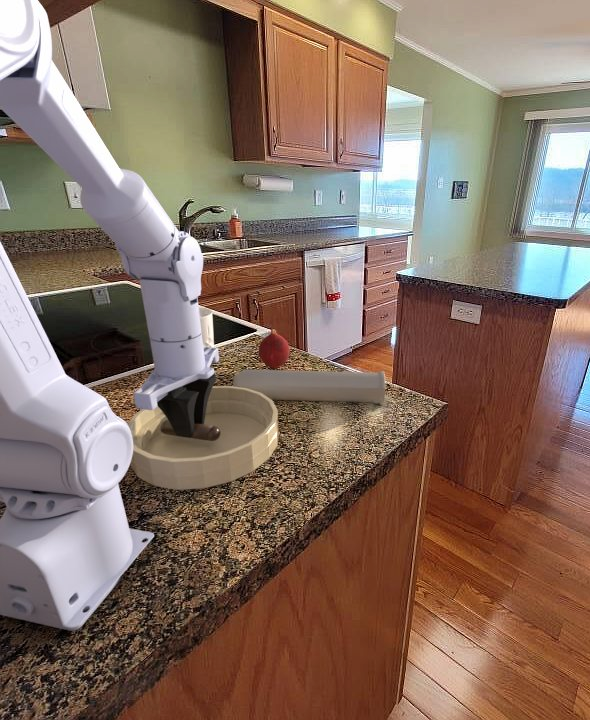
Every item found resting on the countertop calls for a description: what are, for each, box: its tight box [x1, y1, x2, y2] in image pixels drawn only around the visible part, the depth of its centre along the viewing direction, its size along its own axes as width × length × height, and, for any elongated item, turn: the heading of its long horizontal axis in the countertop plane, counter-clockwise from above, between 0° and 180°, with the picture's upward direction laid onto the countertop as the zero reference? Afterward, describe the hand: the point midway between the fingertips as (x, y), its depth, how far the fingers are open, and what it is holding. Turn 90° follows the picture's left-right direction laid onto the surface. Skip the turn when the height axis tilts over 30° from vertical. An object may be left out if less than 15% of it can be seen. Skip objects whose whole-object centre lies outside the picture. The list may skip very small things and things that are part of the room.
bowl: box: [127, 385, 280, 491], centre depth 52 cm, size 18×18×4 cm
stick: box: [160, 420, 221, 441], centre depth 53 cm, size 8×2×2 cm, turn 81°
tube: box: [232, 368, 386, 406], centre depth 66 cm, size 5×5×25 cm
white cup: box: [199, 307, 215, 348], centre depth 76 cm, size 8×8×10 cm
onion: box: [258, 328, 291, 370], centre depth 76 cm, size 6×6×8 cm
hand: (190, 430), depth 53 cm, fingers closed on stick, 2 cm apart
